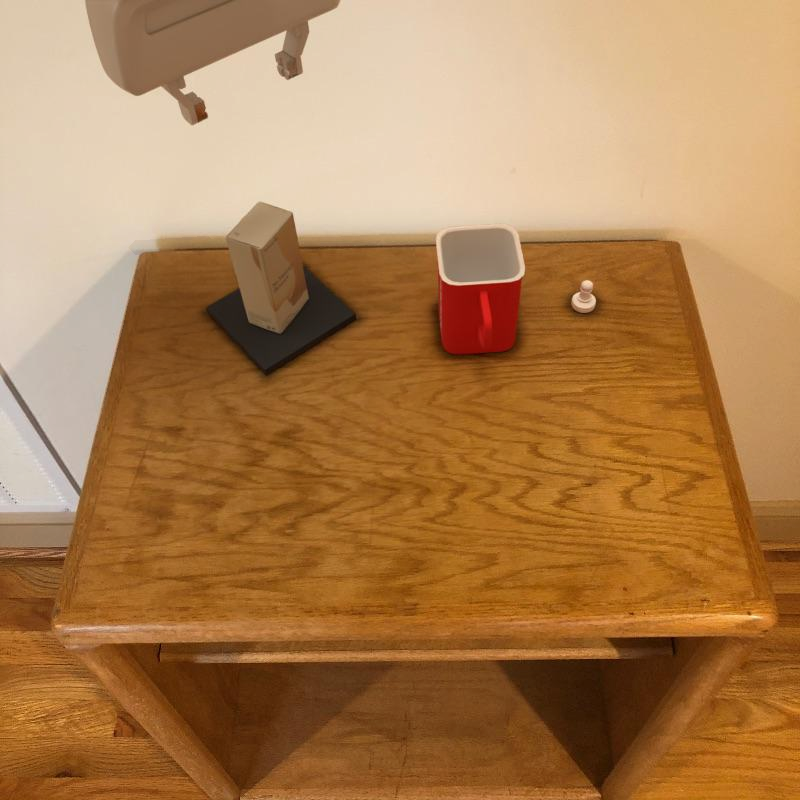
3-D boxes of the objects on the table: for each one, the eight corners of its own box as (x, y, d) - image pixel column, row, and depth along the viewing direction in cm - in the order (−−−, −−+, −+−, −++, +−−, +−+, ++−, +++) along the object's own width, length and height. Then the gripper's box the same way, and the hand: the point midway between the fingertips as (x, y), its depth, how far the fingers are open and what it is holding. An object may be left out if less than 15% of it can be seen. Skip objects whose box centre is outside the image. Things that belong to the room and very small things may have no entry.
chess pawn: (566, 301, 86) (570, 278, 84) (586, 293, 87) (590, 270, 84) (579, 316, 85) (584, 294, 82) (599, 308, 86) (604, 285, 83)
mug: (435, 301, 87) (434, 228, 79) (509, 296, 87) (516, 222, 79) (444, 386, 80) (443, 315, 72) (524, 380, 80) (533, 309, 72)
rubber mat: (266, 375, 82) (264, 370, 81) (207, 313, 88) (205, 307, 87) (356, 319, 86) (355, 313, 86) (295, 263, 92) (293, 256, 91)
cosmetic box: (281, 336, 84) (259, 251, 74) (247, 323, 85) (222, 238, 75) (311, 296, 87) (294, 210, 77) (278, 285, 89) (257, 199, 79)
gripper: (299, -140, 59) (322, 36, 71) (50, -52, 52) (119, 129, 63) (350, -117, 56) (365, 63, 67) (92, -20, 49) (157, 164, 60)
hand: (244, 96), depth 65 cm, fingers open, 8 cm apart
